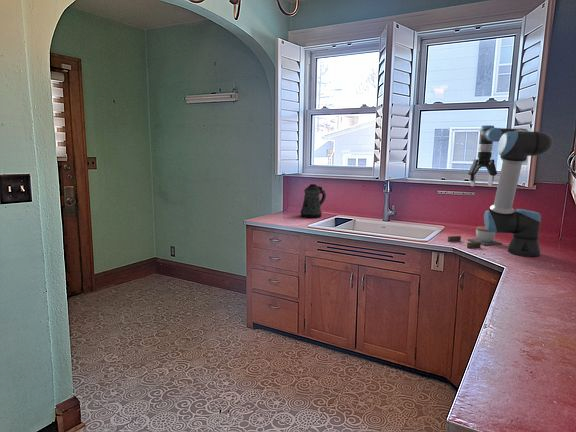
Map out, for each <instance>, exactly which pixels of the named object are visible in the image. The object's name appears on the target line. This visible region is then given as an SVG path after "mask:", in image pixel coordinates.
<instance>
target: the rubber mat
mask: <svg viewBox="0 0 576 432" xmlns="http://www.w3.org/2000/svg"><path fill="white" fill-rule="evenodd" d="M467 241H469V242H481V246H483V247H484V246H486V247H487V246H495V245H497V246H498V245H502V244H503V243H502V242H500V241H496V240H494V239H493V240H492V241H491V242H482V241H479V239H478V238H477V237H476V238H467Z"/></svg>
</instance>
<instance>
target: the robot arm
mask: <svg viewBox="0 0 576 432" xmlns="http://www.w3.org/2000/svg"><path fill="white" fill-rule="evenodd" d="M553 139H554V138H553V137H552V135H551V134H549V133H548V132H545V131H529V130H528V129H527V128H503V127H502V128H500V127H499V128H497V127H495V125H486V124H485V125H481V127H480V131H479V141H478V148H477V149H478V152H477V158H478V159H476V158H475V159H473V162H472V165H471V167H470V168H469V170H468V172H467V174H468V175H469V176H470V179H469V180H470V187H475V186H476V175H477V173H478V171H479V170H480V169H481V168H482V167H483V168H486V169H487V171H488V173H489V175H488V181H487V186H488V187H493V184H494V183H493V182H494V178H495V176H496V175H498V172H497V168H496V165H495V159H493V158H492V154H493V153H492V151H493V146H494V143H495V142H496V143H497V142H498V144H497V151H496V152H497V154H498V155H499V157H500V159H501V160H502V164H501V169H500V173H499V178H498V182H497V188H496V192H495V198H494V202H493V204H492V205H490V206H489V209H487V210H485V211H484V214H483V222H484V227H485V228H486V230H487V231H489V232H495V233H496V234H498V233H499V234H512V239H511V240H510V242H509V245H508V246H507V252H508V254H509V253H510V254H512V255H516V256H520V255H523V256H522V257H527V256H537V257H539V255H540V256H541V248H540V244H539V238H540V237H539V236H540V229H541V223H542V220H541V219H542V215H541V213H540V212H537V211H533V210H529V209H523V208H516V209H514V208H513V205H514V200H515V196H516V192H517V187H518V183H519V178H520V174H521V170H522V165H523V164H524V163H525V162H526V161H528V160H527V159H528V157H529V156H530V157H535V156H536V157H537V156H541V155H545V154H546V153H548V152H549V151H550V150H551V149H552V147H553V145H554V140H553ZM491 158H492V159H491Z"/></svg>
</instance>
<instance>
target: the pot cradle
mask: <svg viewBox="0 0 576 432" xmlns="http://www.w3.org/2000/svg"><path fill="white" fill-rule="evenodd" d="M461 239H462V236H461V235H452V236H450V235H449V236H447V242H448V243H451V242H452V243H455V242H461ZM466 243H467V244H466V249H469V250H470V249H480V248H481V247H482V245H481V242H471V241H469V242H466Z"/></svg>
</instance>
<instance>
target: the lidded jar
mask: <svg viewBox="0 0 576 432" xmlns="http://www.w3.org/2000/svg"><path fill="white" fill-rule="evenodd" d="M475 234H476V235H475V237H476V239H477V238H478V239H479V241H482V242H491V241H492V240H493V241H494V239H495V238H496V234H497V233H495V232H489V231H487V230H486V228H485V225H484V226H481V225H479V226H476V227H475Z"/></svg>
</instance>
